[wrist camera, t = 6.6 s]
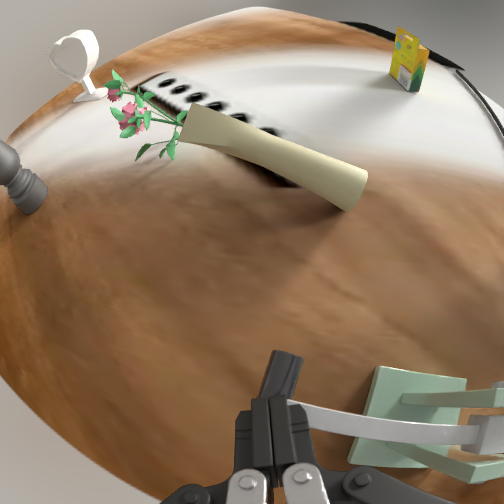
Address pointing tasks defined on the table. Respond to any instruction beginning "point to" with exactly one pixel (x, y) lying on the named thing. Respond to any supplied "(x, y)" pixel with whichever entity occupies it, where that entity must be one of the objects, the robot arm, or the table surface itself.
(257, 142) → the flower vase
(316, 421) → the lever
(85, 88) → the heart sculpture
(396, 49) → the crayon box
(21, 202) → the candle holder
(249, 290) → the table surface
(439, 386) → the bracket
